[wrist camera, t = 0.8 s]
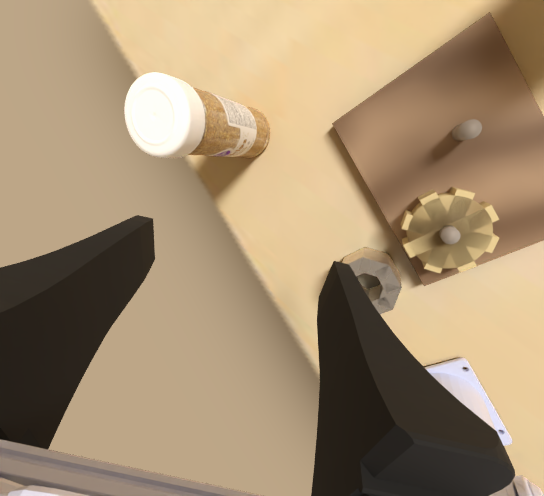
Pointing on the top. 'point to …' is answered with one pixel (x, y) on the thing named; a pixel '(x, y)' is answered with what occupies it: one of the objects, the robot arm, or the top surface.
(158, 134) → the sprinkles bottle
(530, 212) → the gear board
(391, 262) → the loose gear
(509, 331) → the top surface
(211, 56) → the top surface
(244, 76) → the top surface
